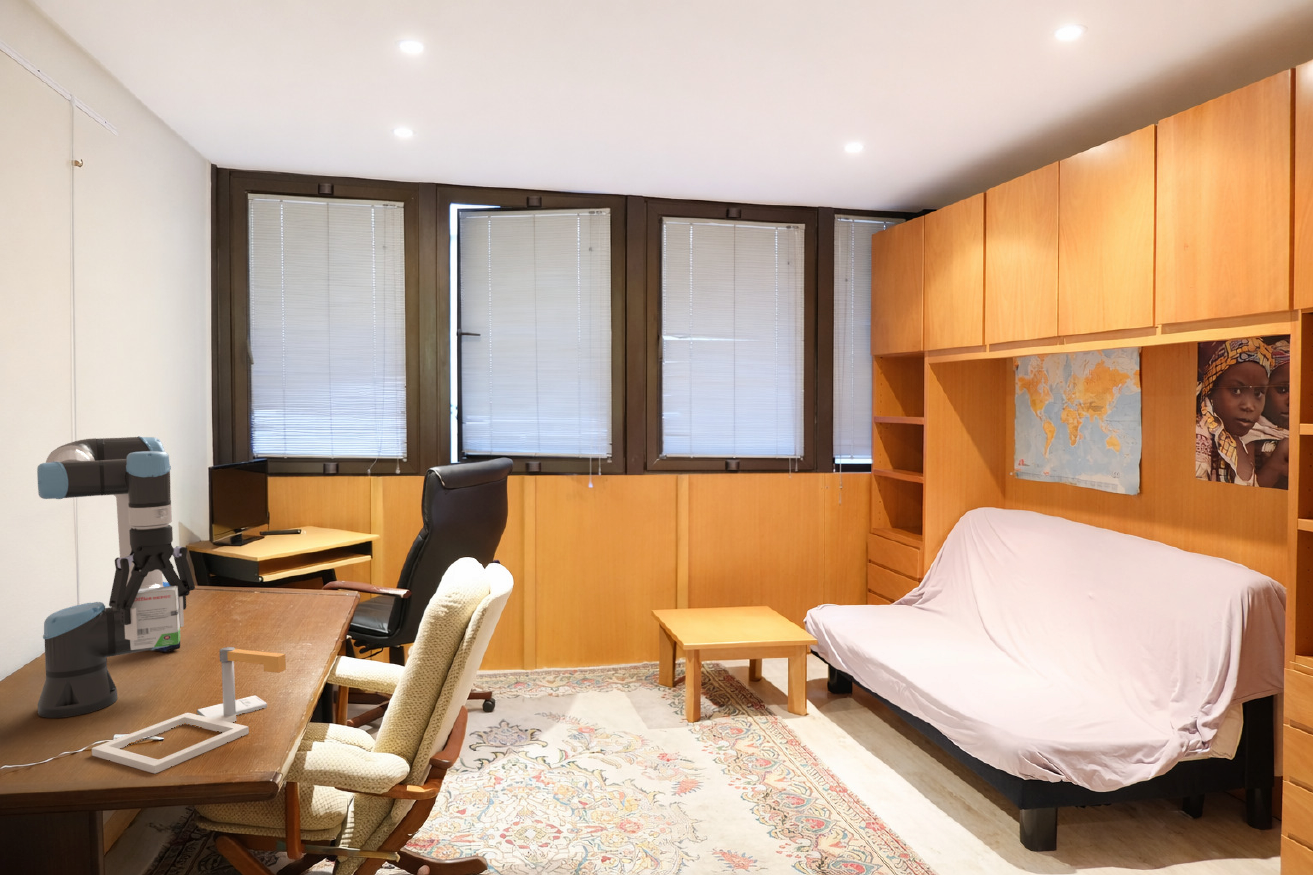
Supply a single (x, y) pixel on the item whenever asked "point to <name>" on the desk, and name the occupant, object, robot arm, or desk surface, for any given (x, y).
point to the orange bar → (255, 658)
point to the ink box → (157, 617)
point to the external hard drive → (241, 707)
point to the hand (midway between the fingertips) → (155, 632)
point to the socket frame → (216, 724)
